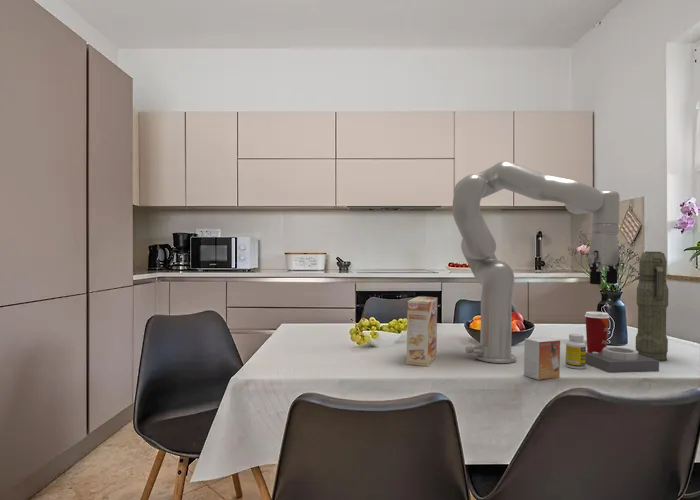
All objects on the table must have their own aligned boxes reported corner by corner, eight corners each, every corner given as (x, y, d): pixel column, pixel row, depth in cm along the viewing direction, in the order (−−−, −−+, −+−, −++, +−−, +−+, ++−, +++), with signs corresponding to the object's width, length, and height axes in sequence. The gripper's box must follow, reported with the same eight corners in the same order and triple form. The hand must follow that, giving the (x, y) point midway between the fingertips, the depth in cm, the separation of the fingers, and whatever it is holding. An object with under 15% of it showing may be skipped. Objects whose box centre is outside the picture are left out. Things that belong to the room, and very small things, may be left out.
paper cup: (612, 357, 161) (613, 314, 160) (587, 355, 162) (588, 313, 162) (605, 352, 168) (605, 311, 168) (581, 350, 170) (581, 310, 170)
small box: (538, 380, 132) (538, 341, 131) (523, 375, 137) (523, 338, 137) (560, 377, 135) (560, 339, 135) (544, 372, 140) (545, 336, 140)
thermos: (647, 362, 153) (649, 251, 153) (628, 354, 165) (629, 251, 165) (676, 363, 153) (678, 252, 153) (654, 354, 165) (656, 251, 165)
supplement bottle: (583, 370, 143) (583, 337, 143) (563, 367, 146) (564, 334, 146) (587, 366, 147) (587, 334, 147) (568, 363, 151) (568, 332, 151)
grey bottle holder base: (609, 372, 141) (609, 355, 141) (583, 362, 153) (583, 346, 153) (658, 371, 143) (659, 354, 143) (630, 361, 155) (630, 345, 155)
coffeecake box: (428, 366, 145) (429, 301, 145) (405, 364, 148) (406, 300, 148) (437, 356, 159) (438, 296, 159) (416, 354, 162) (416, 295, 162)
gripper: (607, 231, 163) (606, 282, 163) (578, 229, 153) (577, 283, 153) (631, 230, 156) (629, 284, 157) (602, 228, 147) (600, 285, 147)
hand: (603, 283), depth 155 cm, fingers open, 9 cm apart
